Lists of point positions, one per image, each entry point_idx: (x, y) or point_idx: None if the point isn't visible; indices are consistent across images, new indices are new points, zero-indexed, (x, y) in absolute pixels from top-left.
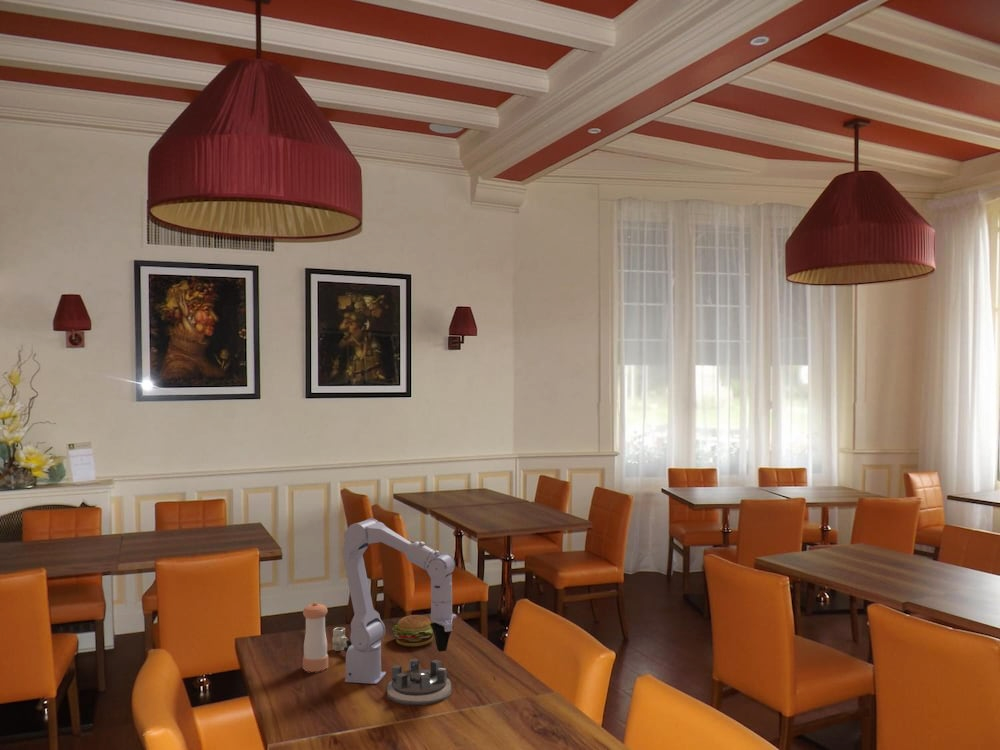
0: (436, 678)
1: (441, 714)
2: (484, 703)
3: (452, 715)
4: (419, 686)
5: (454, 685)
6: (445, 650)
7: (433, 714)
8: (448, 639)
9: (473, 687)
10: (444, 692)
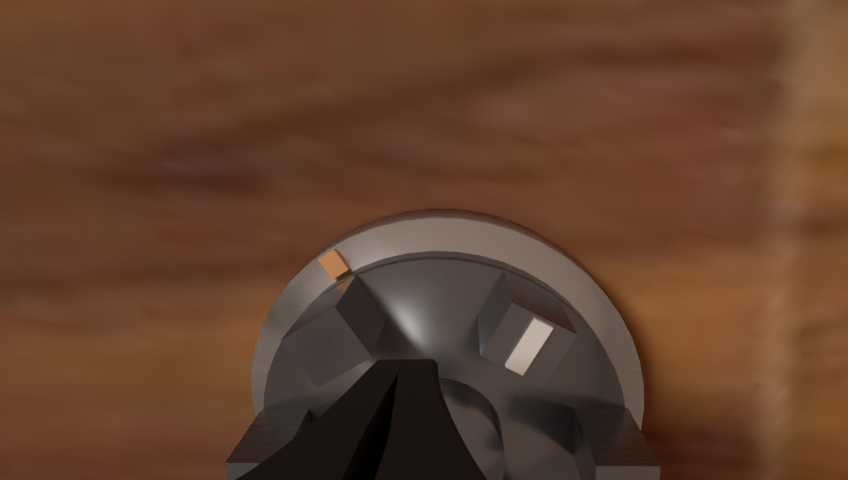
0: (462, 331)
1: (792, 339)
2: (768, 43)
3: (839, 285)
4: (562, 456)
5: (400, 171)
6: (437, 368)
7: (769, 377)
8: (458, 435)
9: (471, 52)
10: (604, 293)
